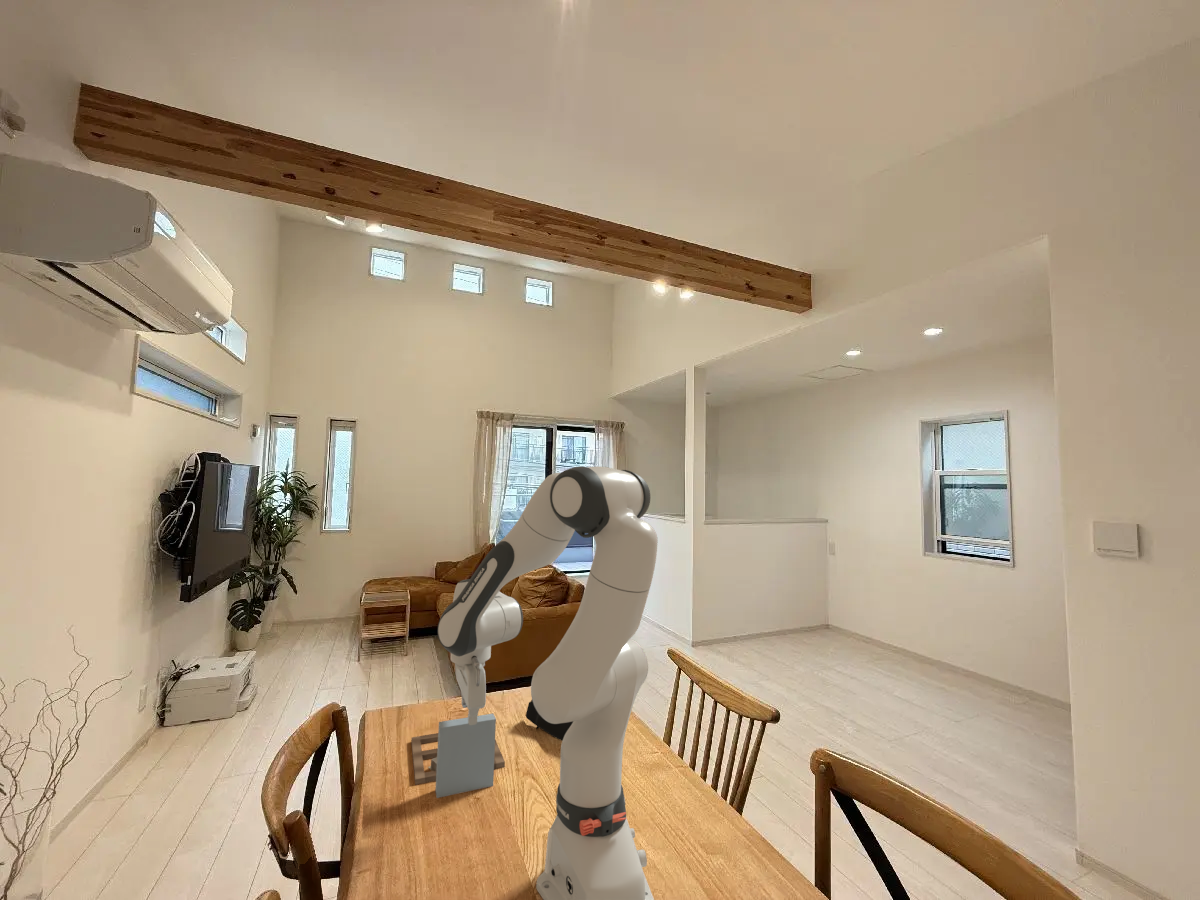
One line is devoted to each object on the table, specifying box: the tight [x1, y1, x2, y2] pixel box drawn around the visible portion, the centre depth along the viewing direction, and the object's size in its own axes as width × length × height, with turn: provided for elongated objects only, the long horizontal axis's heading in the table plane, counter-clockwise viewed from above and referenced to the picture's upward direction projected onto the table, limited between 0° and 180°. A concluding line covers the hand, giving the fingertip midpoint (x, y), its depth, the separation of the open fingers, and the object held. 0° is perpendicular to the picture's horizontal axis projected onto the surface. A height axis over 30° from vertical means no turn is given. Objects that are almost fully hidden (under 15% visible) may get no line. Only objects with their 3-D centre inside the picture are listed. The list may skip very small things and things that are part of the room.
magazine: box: [525, 699, 573, 742], centre depth 132 cm, size 17×3×30 cm
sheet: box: [435, 713, 497, 799], centre depth 108 cm, size 3×12×15 cm, turn 113°
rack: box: [410, 732, 506, 786], centre depth 121 cm, size 20×20×2 cm
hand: (468, 714), depth 109 cm, fingers open, 8 cm apart
